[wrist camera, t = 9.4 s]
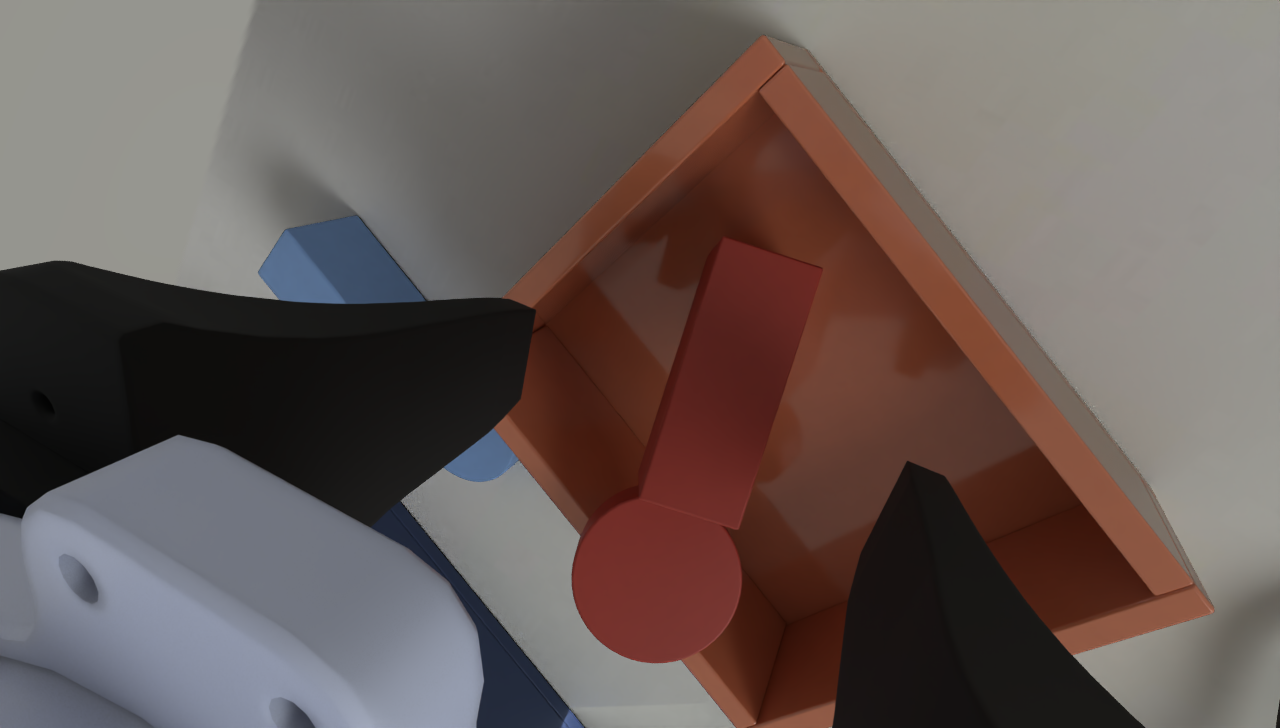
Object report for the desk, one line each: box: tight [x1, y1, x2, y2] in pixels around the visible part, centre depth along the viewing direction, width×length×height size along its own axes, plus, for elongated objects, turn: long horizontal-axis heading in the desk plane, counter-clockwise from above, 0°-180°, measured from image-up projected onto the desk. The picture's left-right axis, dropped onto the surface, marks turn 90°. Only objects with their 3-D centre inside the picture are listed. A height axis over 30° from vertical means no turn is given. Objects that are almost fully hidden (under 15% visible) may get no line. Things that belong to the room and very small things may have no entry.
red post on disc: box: [572, 236, 823, 663], centre depth 14 cm, size 9×4×3 cm, turn 170°
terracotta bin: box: [494, 35, 1215, 728], centre depth 15 cm, size 12×10×4 cm
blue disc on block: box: [258, 215, 519, 482], centre depth 20 cm, size 9×4×3 cm, turn 43°
